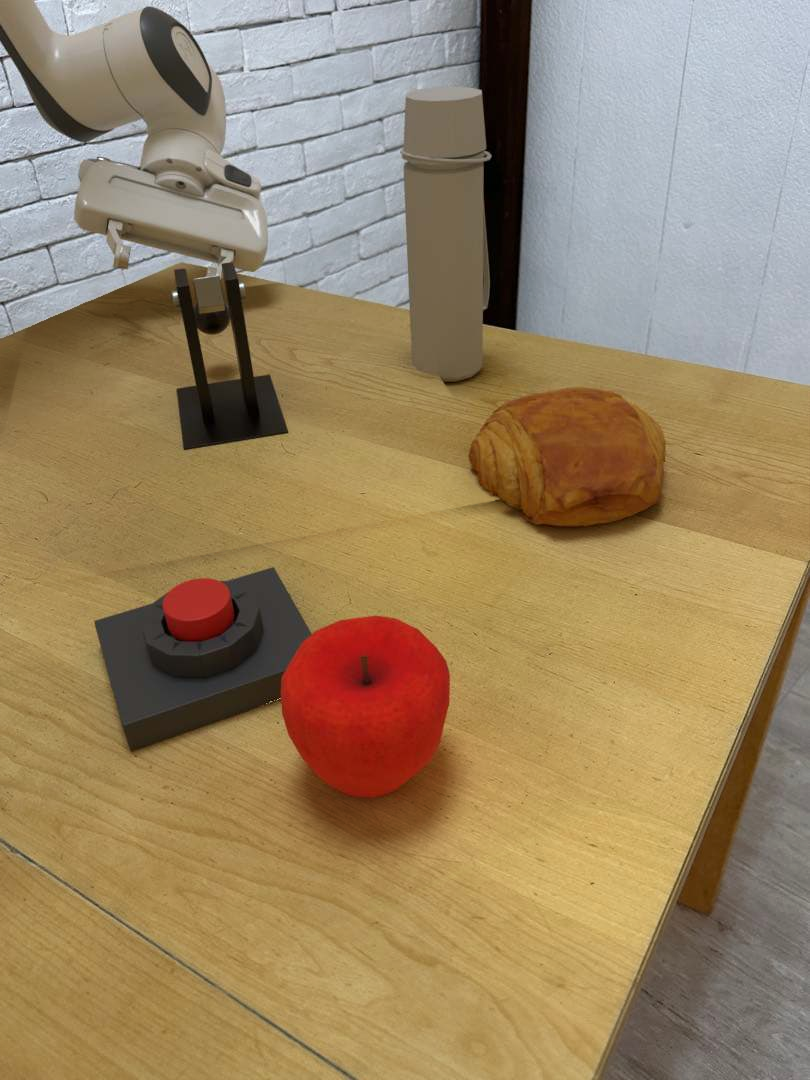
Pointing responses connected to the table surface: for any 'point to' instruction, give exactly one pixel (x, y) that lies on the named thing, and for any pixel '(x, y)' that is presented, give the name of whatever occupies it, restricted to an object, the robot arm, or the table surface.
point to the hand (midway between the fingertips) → (167, 275)
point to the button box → (200, 661)
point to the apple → (366, 703)
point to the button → (198, 610)
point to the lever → (210, 305)
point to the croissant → (571, 457)
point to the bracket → (226, 404)
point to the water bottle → (446, 229)
